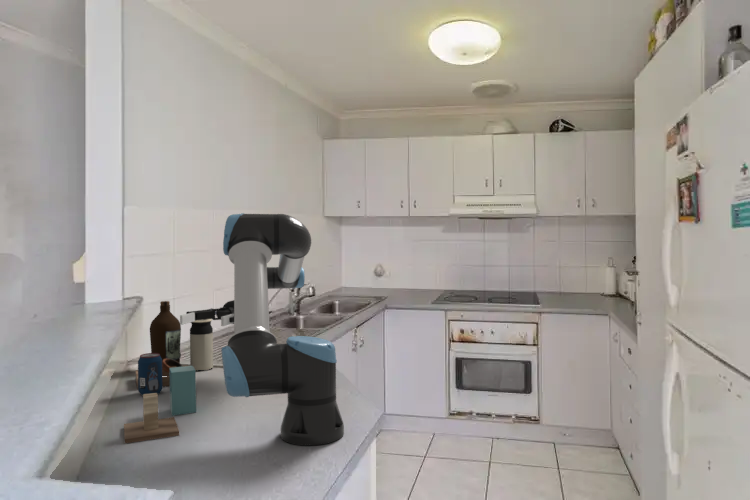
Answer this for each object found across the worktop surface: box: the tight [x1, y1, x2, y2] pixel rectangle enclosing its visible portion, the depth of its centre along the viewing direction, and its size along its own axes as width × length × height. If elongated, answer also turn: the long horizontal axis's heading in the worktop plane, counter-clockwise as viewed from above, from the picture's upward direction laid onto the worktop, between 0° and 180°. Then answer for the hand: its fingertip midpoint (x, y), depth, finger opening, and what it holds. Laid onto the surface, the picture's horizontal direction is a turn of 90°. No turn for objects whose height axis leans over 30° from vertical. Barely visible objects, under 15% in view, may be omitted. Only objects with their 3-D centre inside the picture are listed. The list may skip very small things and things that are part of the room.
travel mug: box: [189, 319, 214, 371], centre depth 204 cm, size 8×8×18 cm
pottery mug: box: [162, 359, 184, 374], centre depth 186 cm, size 12×10×8 cm
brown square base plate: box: [123, 393, 180, 444], centre depth 137 cm, size 12×12×9 cm
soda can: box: [137, 352, 164, 396], centre depth 171 cm, size 7×7×12 cm
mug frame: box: [135, 364, 189, 390], centre depth 186 cm, size 15×17×3 cm
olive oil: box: [149, 300, 182, 367], centre depth 202 cm, size 11×11×25 cm
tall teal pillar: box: [169, 365, 197, 417], centre depth 154 cm, size 6×6×12 cm
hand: (201, 320), depth 163 cm, fingers open, 13 cm apart
